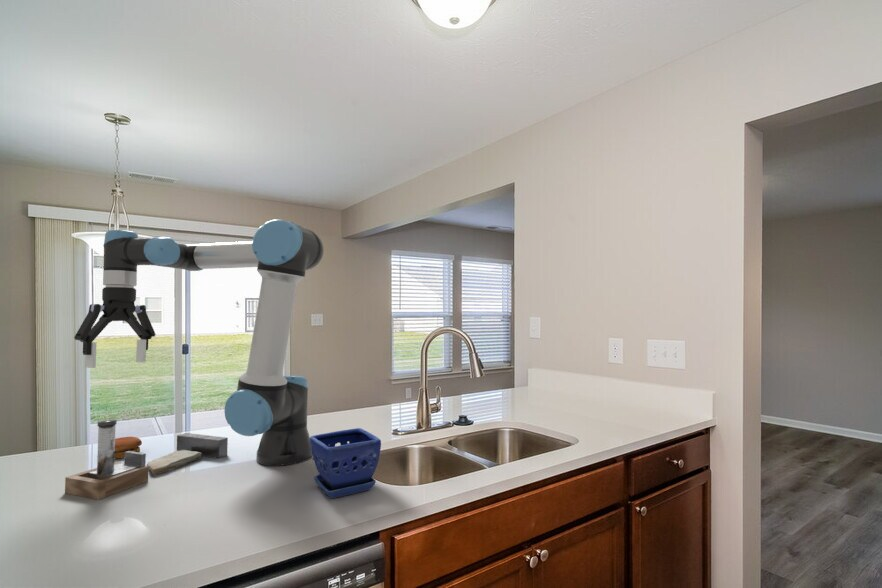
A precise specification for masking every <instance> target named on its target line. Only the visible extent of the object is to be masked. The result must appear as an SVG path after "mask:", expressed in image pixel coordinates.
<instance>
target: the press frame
mask: <svg viewBox="0 0 882 588" xmlns="http://www.w3.org/2000/svg"><path fill="white" fill-rule="evenodd" d="M118 463H121V462H120V461H114V465H115V464H118ZM96 470H97V467H95V468H92V469H88V470H85V471H82V472H79V473H76V474H72V475H69V476H66V477H65V478H64V479H65V481H64V482H65V483H64V486H65V487H64V494H66V495H67V494H68V495H73V496H77V497H78V496H79V497H83V498H88V499H93V500H98V501H99V500H101V499H103V498H107V497H109V496H112V495H115V494H117V493H120V492H123V491H126V490H128V489H130V488H134V487H136V486H139V485H142V484H144V483H148V482H149V470H150V469H149V467H148V465H147V466H146V465H145V466H142V467H139V468H136V469H133V470H130V471H127V472H124V473H121V474H118V475H115V476H112V477H109V478H106V479H103V480H97V479H92V478H88V473H89V472H92V471H96Z"/></svg>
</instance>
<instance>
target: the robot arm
mask: <svg viewBox="0 0 882 588" xmlns="http://www.w3.org/2000/svg"><path fill="white" fill-rule="evenodd" d="M103 240H104V241H103V244H102V245H103V270H102V271H103V274H102V275H103V276H102V285H103V286H104V287H103V288H102V292H101V295H102V296H101V297H102V299H101V300H102V304H99V303H91V304H90V305H89V307H88V313H87V314H86V316H85V318H84V320H83V321H82V322H81V325H80V326H79V328H78V330H77V332H76V333H75V335H74V340H75V341H80V342H81V343H82V354H83V355H84V356H85V361H84V362H85V363H84V368H86V369H95V368H96V365H97V363H96V362H97V342H95V341H94V340H96V338H97V337H98V336H99V335H100V334H101V333H102V331H103V330H105V328H106V327H107V326H109V324H110V323H112V322H123V321H124V322H126V323H127V324H128V325H129V327H130V328H131V329H132V330H133V331H134V332H135V334H136V335H137V336H138V339H136V352H135V353H136V355H135V356H136V359H135V360H136V361H135V362H136V363H146V362H147V361H146V360H147V359H146V357H147V351H148V350H149V340H152V338H154V337H156V335H157V334H156V332H155V329H154V328H153V326H152V323H151V320H150V319H149V316H148V314H147V307H146V305H144V304H138V305H137V304H136V305H135V301H136V300H137V289H136V286H137V281H138V279H137V278H138V277H137V276H138V275H137V274H138V266H156V267H163V268H172V269H179V270H186V271H188V272H189V271H190V272H200V271H203V270H208V269H211V270H212V269H214V270H215V269H236V268H238V269H239V268H242V269H243V268H256V271H257V272H258V274H259V275H260V277H261V278H262V279H261V282H260V283H261V284H260V288H259V289H260V290H259V297H258V302H257V307H256V308H257V309H256V314H255V321H254V326H253V332H252V339H251V344H250V350H249V356H248V362H247V368H246V371H245V372H244V373H243V374H241V375H240V376H239V377H238V382H237V388H236V390H235V391H234V392H233V393H232V394H231V395H230V396H229V397H228V398H227V399H226V401H225V404H224V411H223V412H224V417H225V420H226V422H227V424H228V425H229V426H230V428H231V429H232V430H233V431H234V432H235V433H237V434H239V435H241V436H245V437H254V436H257V435H261V434H262V435H261V439H260V441H259V445H258V448H257V450H256V460H255V461H256V463H258V464H261V465H264V466H273V467H275V466H290V465H295V464H298V463H303V462H304V461H305V462H306V461H307V460H310V459H312V458H313V456H312V451H311V445H310V437H311V436H310V433H309V430H308V392H309V391H308V390H309V387H308V379H307V378H306V377H305V376H302V375H284V374H283V373H284V368H285V367H284V366H285V361H286V355H287V347H288V342H289V335H290V331H291V326H292V325H291V323H292V320H293V319H292V317H293V311H294V307H295V306H294V305H295V300H296V296H297V293H296V292H297V288H298V287H297V286H298V283H300V282H301V281H302V280H305V276H306V271H309V270H312V269H314V268H316V266H318V265H319V264H320V262H321V261H322V259H323V256H324V244H323V241H322V239H321V238H320V236H318V234H317V233H315V231H312V230H310V229H308V228H305V227H303V226H300V225H298V224H297V223H295V222H293V221H288V220H284V219H272V220H269V221H266V222H265V223H264V224H262V225H260V226H259V228H257V230H256V231H255V233H254V235H253V238H252V241H238V242H237V241H235V242H233V241H231V242H215V243H214V242H213V243H209V242H208V243H195V244H194V243H193V244H192V243H191V244H189V243H188V244H187V243H186V244H185V243H181V242H177V241H175V239H173V238H171V237H166V236H155V237H154V236H153V237H139V235H138V233H136V231H131V230H125V229H110V230H109V229H108V230H107V231H106V233H105V235H104V239H103ZM101 312H102V313H103V314H102V315H101V316H100V318H99V315H100V313H101ZM134 313H136V315H135V314H134ZM97 319H98V320H97ZM96 321H97V322H96Z"/></svg>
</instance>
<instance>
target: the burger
mask: <svg viewBox="0 0 882 588" xmlns="http://www.w3.org/2000/svg"><path fill="white" fill-rule="evenodd" d="M142 444H143V443H142V440H141V439H140V438H139V437H137V436H124V437H117V438H116V437H115V455H114V460H116V459H124V458H125V452H127V451H133V452H140V453H141V447H140V446H141V445H142Z"/></svg>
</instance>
